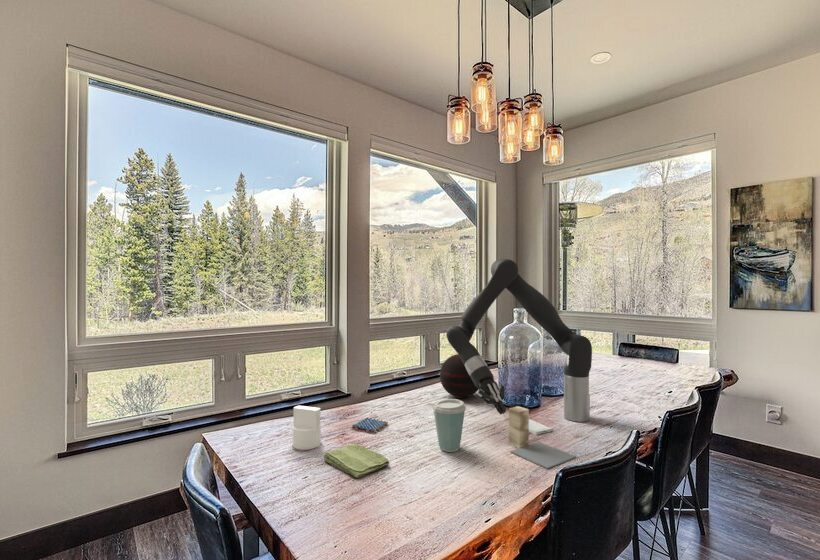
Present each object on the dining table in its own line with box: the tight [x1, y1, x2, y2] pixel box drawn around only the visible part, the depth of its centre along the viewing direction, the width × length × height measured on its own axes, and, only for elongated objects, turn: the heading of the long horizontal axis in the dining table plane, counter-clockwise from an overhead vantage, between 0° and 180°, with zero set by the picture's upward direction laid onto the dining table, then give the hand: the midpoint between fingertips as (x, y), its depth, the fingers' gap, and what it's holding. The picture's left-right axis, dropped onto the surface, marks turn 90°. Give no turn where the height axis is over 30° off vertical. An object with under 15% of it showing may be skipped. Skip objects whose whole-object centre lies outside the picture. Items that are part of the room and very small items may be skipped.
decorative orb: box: [439, 353, 479, 399], centre depth 194 cm, size 20×20×20 cm
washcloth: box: [323, 443, 390, 479], centre depth 123 cm, size 13×18×3 cm
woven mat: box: [351, 417, 389, 435], centre depth 153 cm, size 10×11×2 cm
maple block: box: [508, 405, 530, 449], centre depth 138 cm, size 4×4×12 cm
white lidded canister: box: [292, 405, 322, 451], centre depth 137 cm, size 9×9×12 cm
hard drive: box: [529, 418, 554, 436], centre depth 154 cm, size 2×8×12 cm
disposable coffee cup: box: [432, 398, 466, 453], centre depth 135 cm, size 11×11×15 cm
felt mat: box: [510, 441, 577, 470], centre depth 130 cm, size 14×14×1 cm
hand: (503, 412), depth 143 cm, fingers closed
